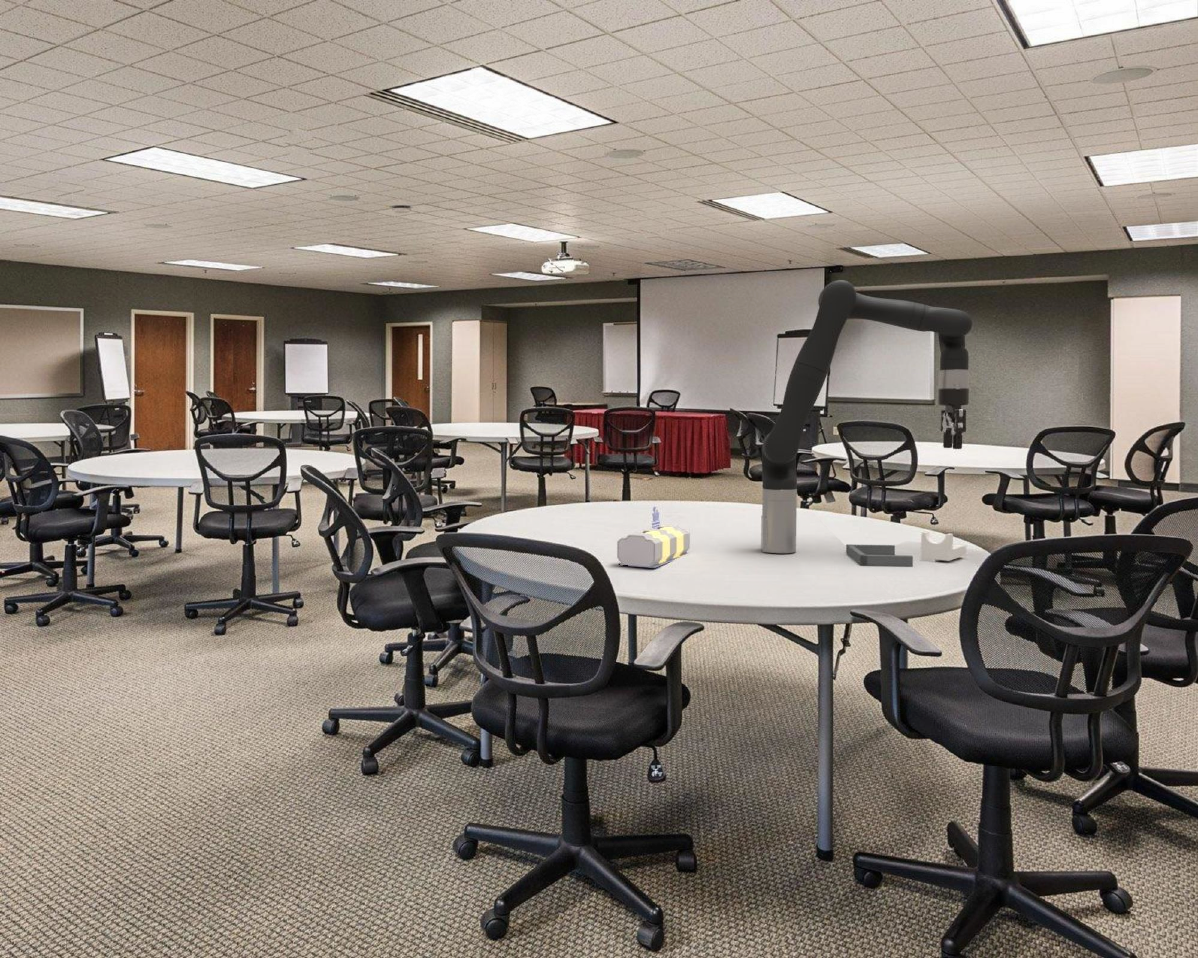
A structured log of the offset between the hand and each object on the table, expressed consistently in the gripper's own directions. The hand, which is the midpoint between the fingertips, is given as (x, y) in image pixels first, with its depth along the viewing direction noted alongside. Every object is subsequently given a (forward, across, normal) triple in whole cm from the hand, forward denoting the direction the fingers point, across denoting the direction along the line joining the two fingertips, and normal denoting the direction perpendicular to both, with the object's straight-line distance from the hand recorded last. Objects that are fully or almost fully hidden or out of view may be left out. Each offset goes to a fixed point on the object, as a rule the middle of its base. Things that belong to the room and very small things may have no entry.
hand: (952, 448), depth 241 cm
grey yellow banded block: (+29, +13, -79) cm, 85 cm away
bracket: (+29, +7, -4) cm, 30 cm away
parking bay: (+29, +10, -20) cm, 37 cm away
